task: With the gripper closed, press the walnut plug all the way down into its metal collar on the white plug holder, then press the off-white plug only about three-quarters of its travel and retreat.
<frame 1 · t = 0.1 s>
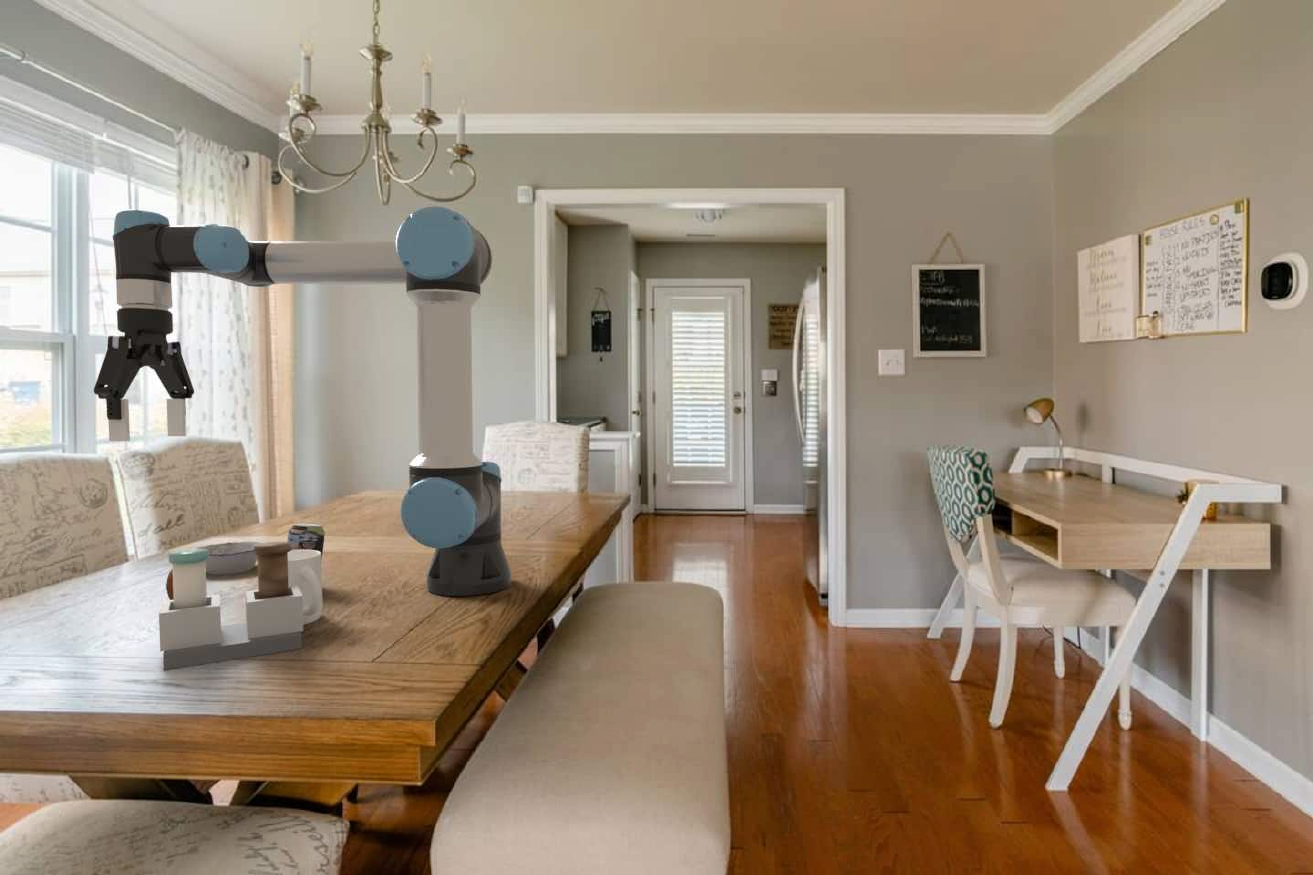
hand: (149, 438, 123), 28 cm above the table, fingers open, 13 cm apart
bowl: (229, 571, 150), on the table
white plug holder: (234, 647, 104), on the table
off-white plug: (189, 581, 100), point 10 cm above the table, slide at 0.0 cm
rock: (189, 607, 124), on the table
walnut plug: (273, 572, 106), point 10 cm above the table, slide at 0.0 cm
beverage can: (304, 589, 135), on the table
mug: (299, 623, 115), on the table
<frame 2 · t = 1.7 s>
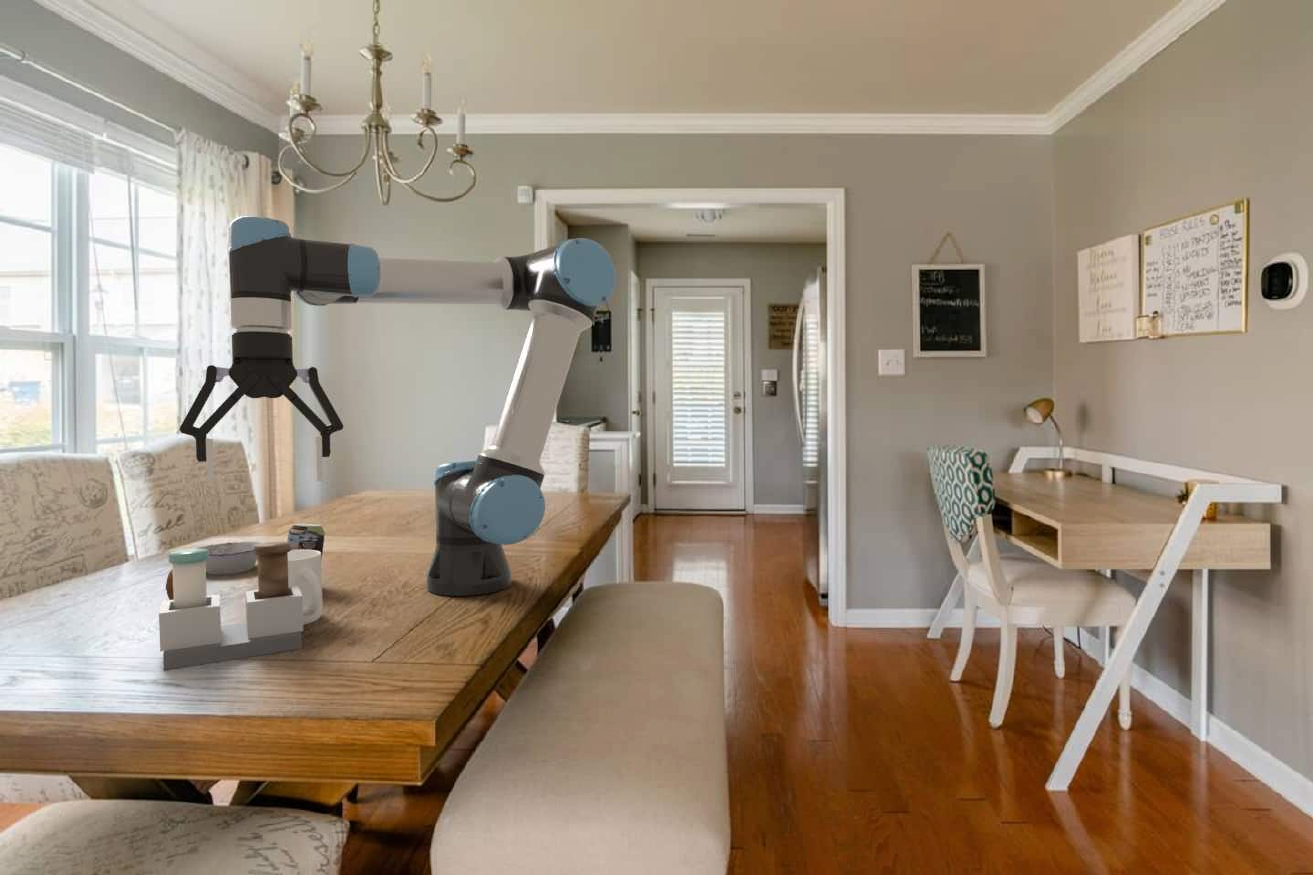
hand: (266, 482, 105), 23 cm above the table, fingers open, 13 cm apart
nothing on the table moved.
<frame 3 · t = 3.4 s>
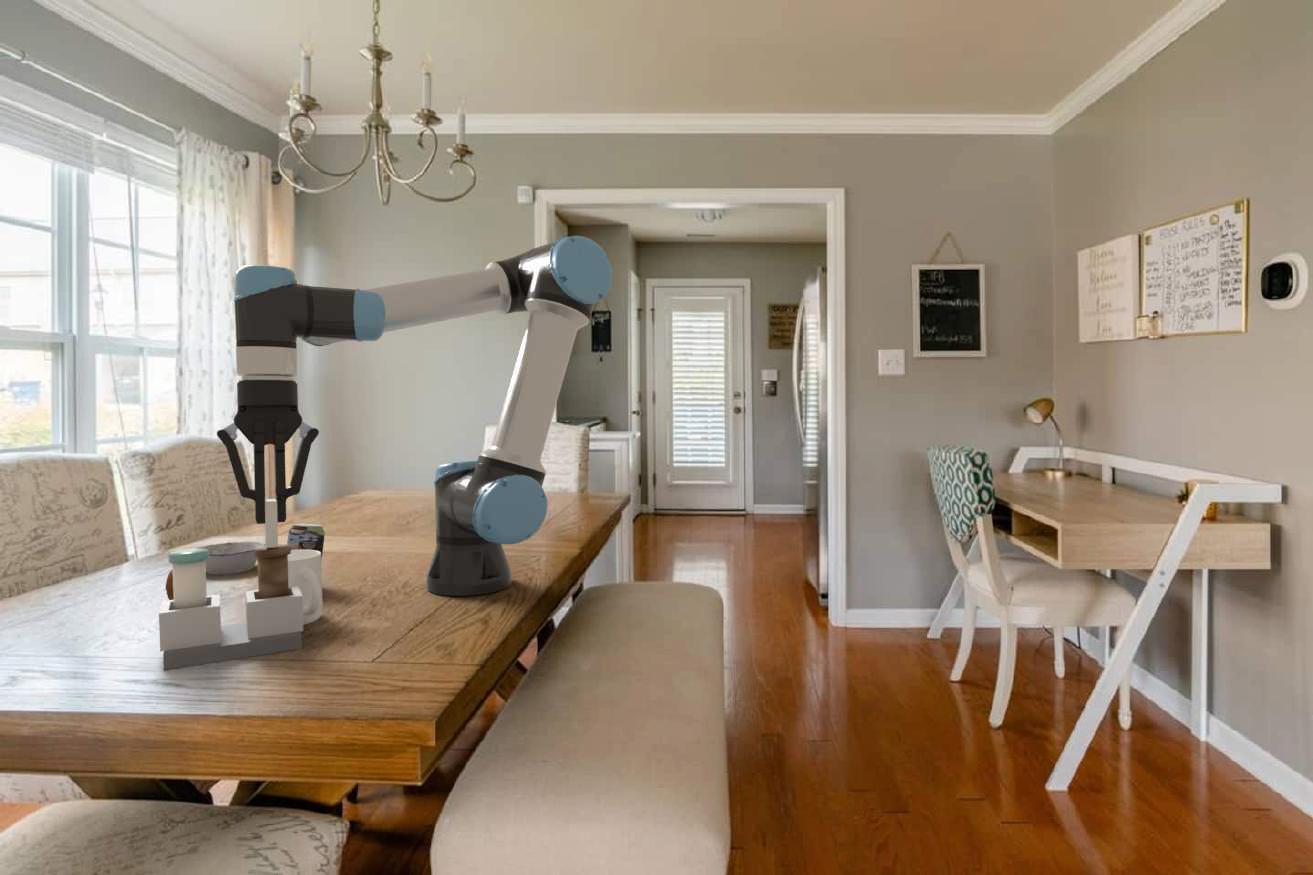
hand: (271, 545, 105), 14 cm above the table, fingers closed
walnut plug: (273, 575, 106), point 10 cm above the table, slide at 0.4 cm, touching gripper
everything else where it was.
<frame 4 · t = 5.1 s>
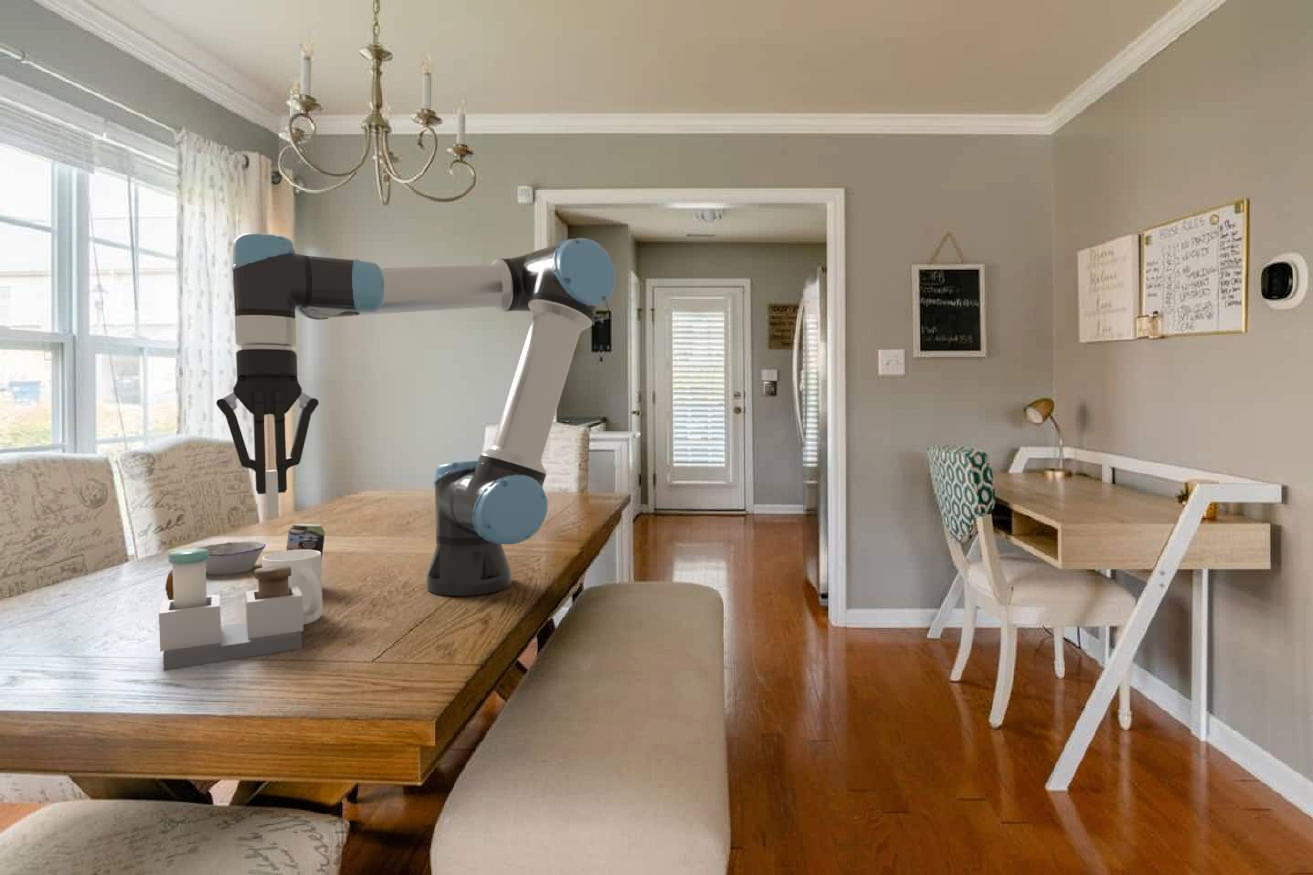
hand: (272, 516, 105), 18 cm above the table, fingers closed
walnut plug: (273, 596, 106), point 7 cm above the table, slide at 3.5 cm
everything else where it was.
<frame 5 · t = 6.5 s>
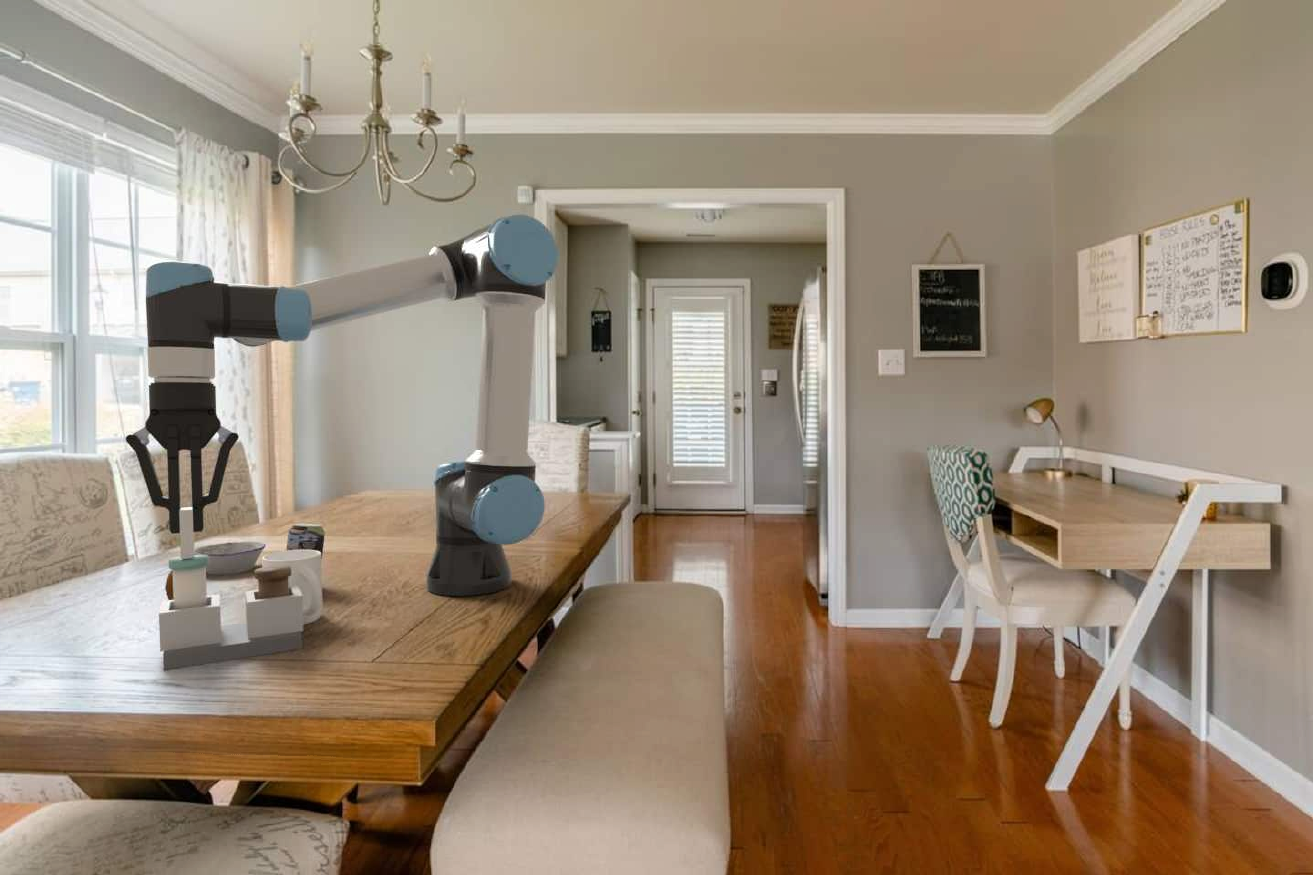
hand: (187, 556, 100), 13 cm above the table, fingers closed
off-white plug: (189, 587, 100), point 9 cm above the table, slide at 0.8 cm, touching gripper
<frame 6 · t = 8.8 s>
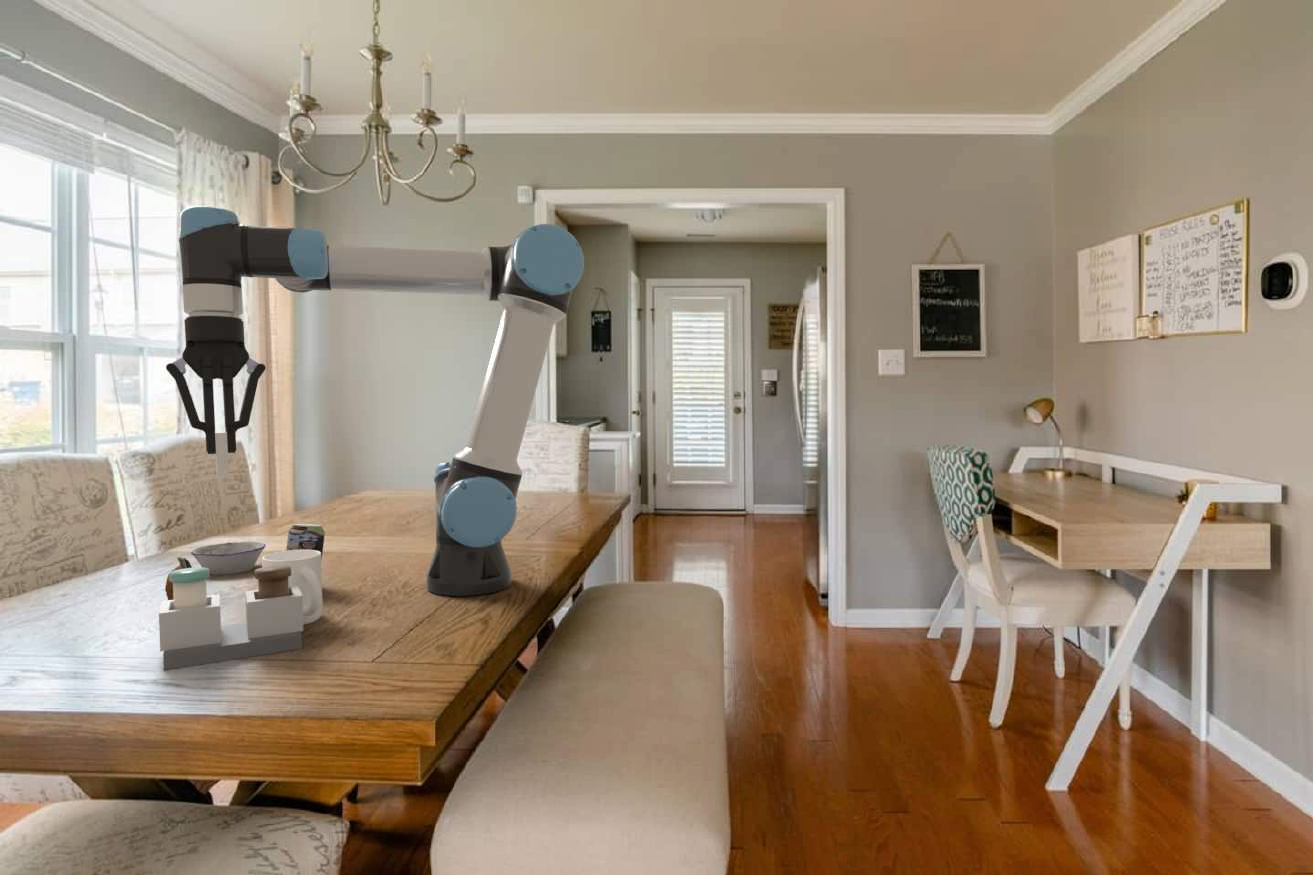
hand: (222, 475, 111), 23 cm above the table, fingers closed
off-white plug: (190, 600, 101), point 7 cm above the table, slide at 2.6 cm
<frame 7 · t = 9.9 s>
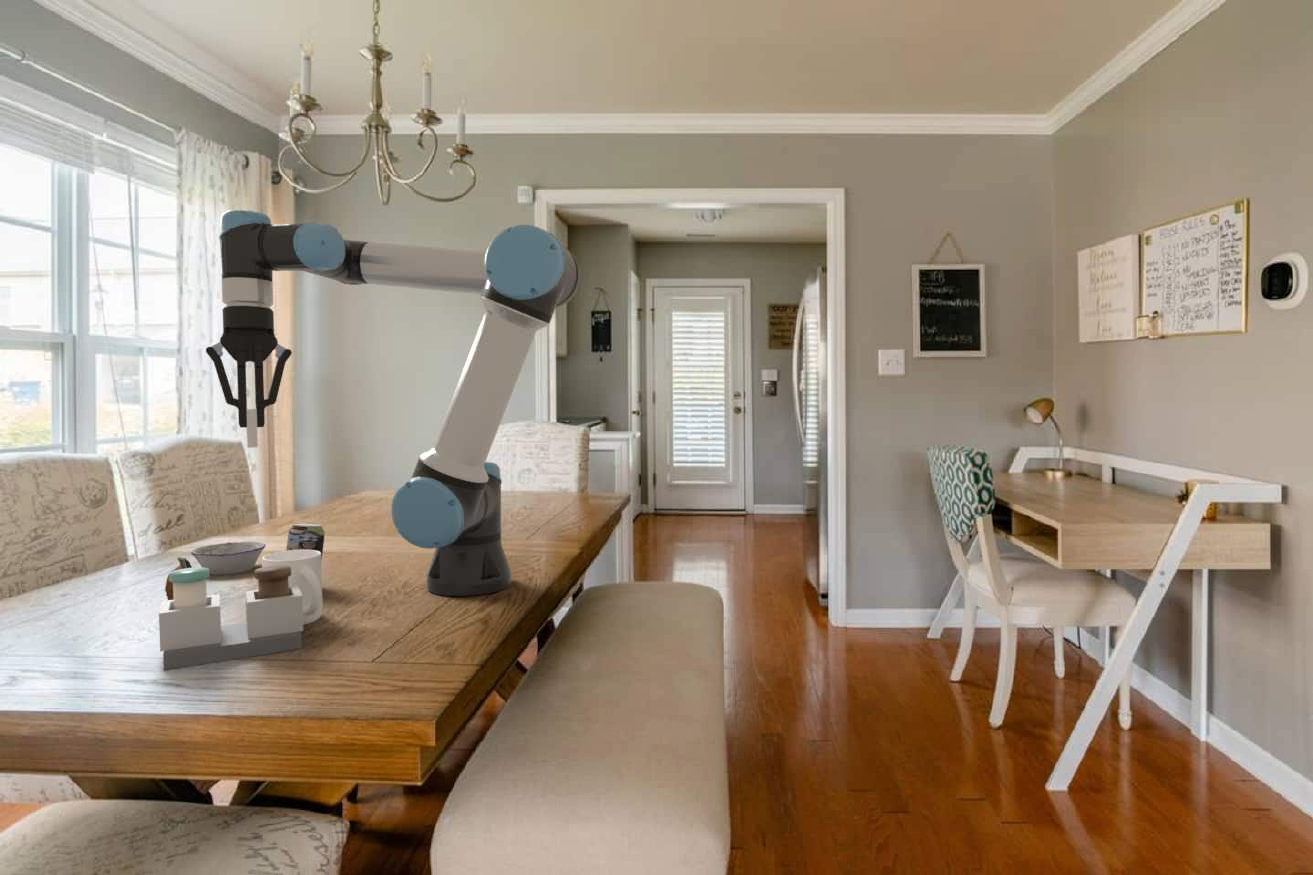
hand: (252, 446, 126), 26 cm above the table, fingers closed
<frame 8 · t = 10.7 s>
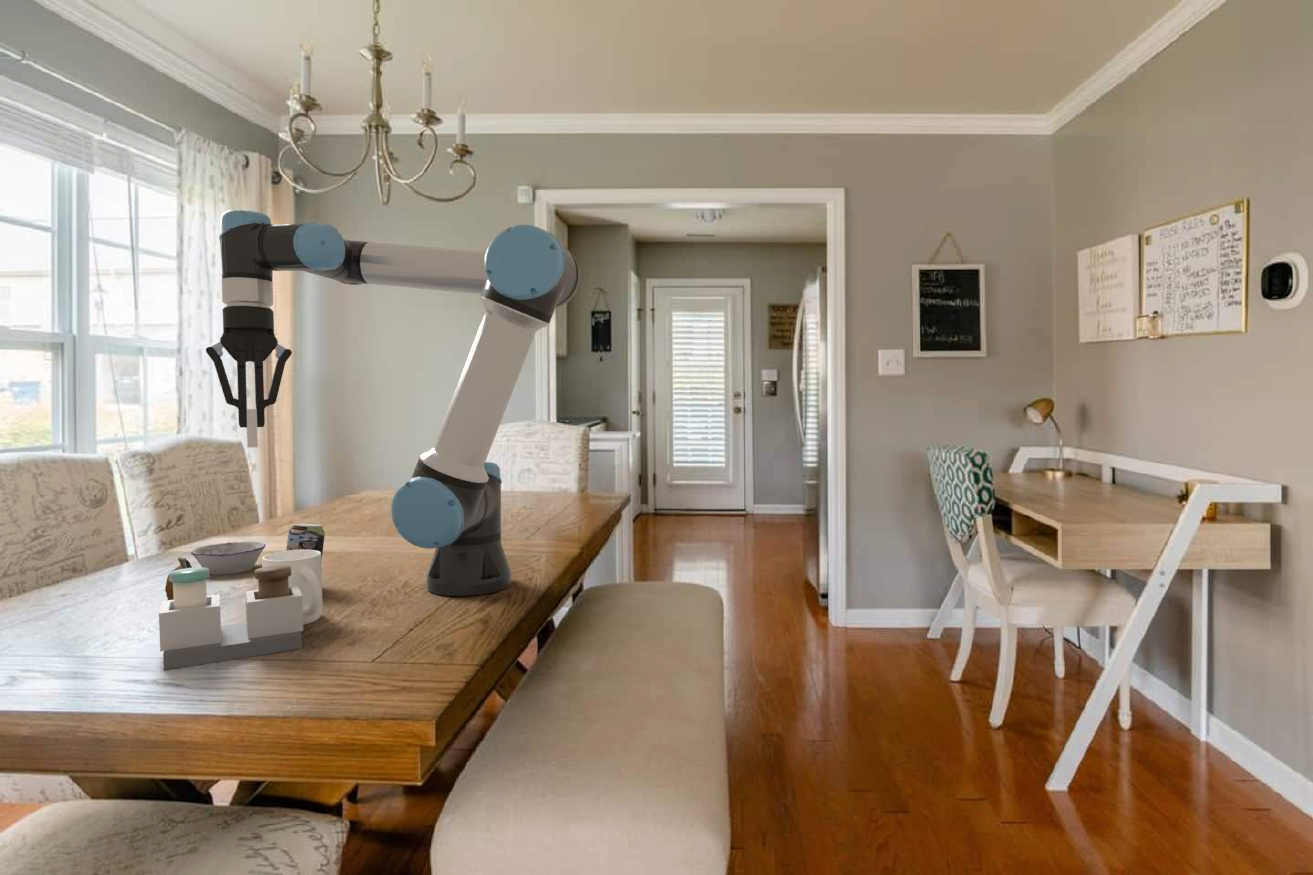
hand: (252, 446, 126), 26 cm above the table, fingers closed
at the end: walnut plug slide at 3.5 cm; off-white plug slide at 2.6 cm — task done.
